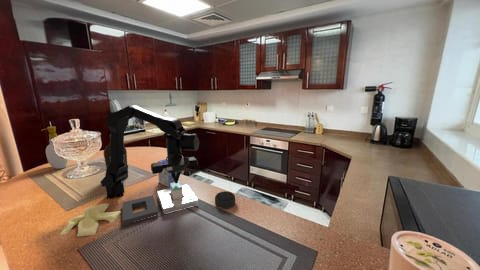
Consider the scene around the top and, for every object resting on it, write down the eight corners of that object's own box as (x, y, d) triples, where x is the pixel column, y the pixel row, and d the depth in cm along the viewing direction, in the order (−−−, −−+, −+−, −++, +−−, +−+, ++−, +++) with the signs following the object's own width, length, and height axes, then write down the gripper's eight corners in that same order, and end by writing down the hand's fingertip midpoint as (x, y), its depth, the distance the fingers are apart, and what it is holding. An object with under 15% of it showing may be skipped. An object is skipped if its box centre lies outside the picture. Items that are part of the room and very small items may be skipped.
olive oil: (105, 177, 111) (99, 134, 105) (126, 172, 118) (121, 131, 113) (109, 184, 103) (103, 138, 98) (131, 178, 111) (127, 135, 105)
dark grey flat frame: (123, 225, 72) (122, 220, 72) (122, 206, 84) (122, 202, 83) (158, 215, 78) (157, 211, 78) (153, 199, 90) (153, 195, 89)
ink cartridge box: (178, 184, 104) (176, 158, 101) (169, 188, 100) (167, 161, 97) (167, 179, 110) (165, 154, 107) (158, 182, 106) (156, 157, 103)
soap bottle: (43, 168, 123) (34, 127, 118) (60, 163, 131) (52, 124, 126) (56, 171, 118) (47, 129, 112) (73, 166, 126) (66, 126, 120)
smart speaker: (222, 196, 93) (222, 188, 92) (238, 202, 89) (238, 194, 88) (210, 205, 86) (210, 197, 85) (227, 212, 81) (227, 203, 80)
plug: (173, 206, 85) (172, 189, 83) (171, 199, 90) (169, 183, 88) (183, 203, 87) (182, 186, 85) (180, 197, 92) (179, 181, 90)
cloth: (101, 202, 88) (99, 190, 86) (132, 211, 81) (131, 198, 80) (36, 236, 67) (32, 220, 66) (71, 251, 61) (67, 234, 60)
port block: (163, 215, 78) (163, 207, 77) (157, 197, 92) (157, 190, 91) (198, 205, 85) (197, 198, 84) (187, 190, 99) (187, 183, 98)
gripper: (152, 157, 72) (156, 196, 75) (201, 150, 81) (202, 185, 84) (149, 150, 81) (152, 185, 84) (193, 144, 90) (194, 176, 94)
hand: (176, 183), depth 86 cm, fingers closed
